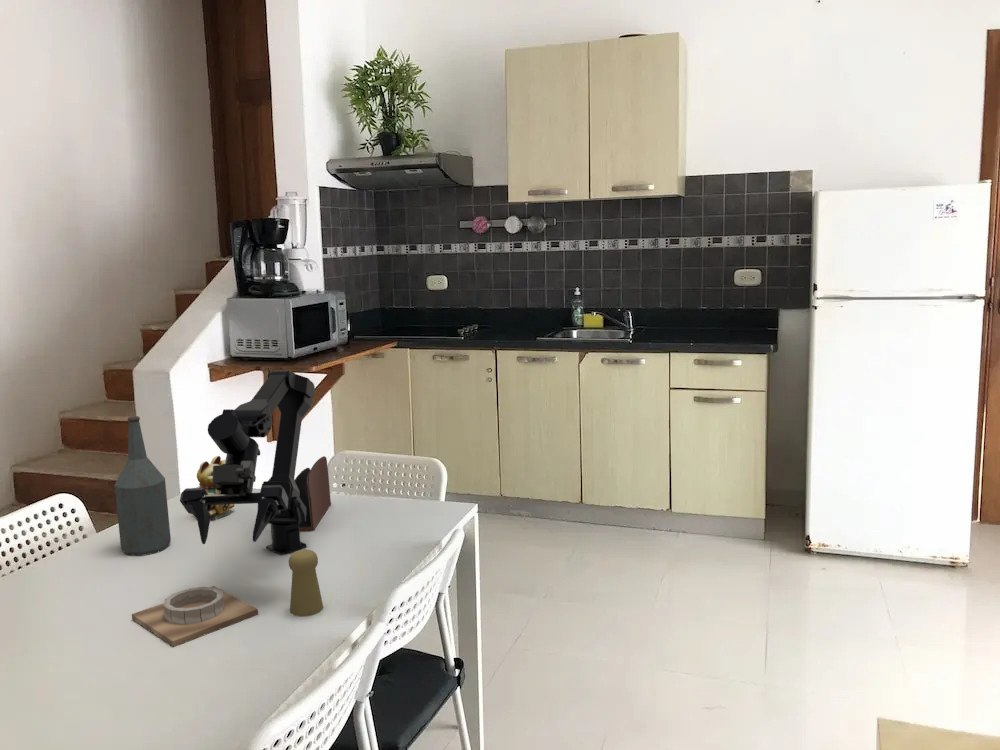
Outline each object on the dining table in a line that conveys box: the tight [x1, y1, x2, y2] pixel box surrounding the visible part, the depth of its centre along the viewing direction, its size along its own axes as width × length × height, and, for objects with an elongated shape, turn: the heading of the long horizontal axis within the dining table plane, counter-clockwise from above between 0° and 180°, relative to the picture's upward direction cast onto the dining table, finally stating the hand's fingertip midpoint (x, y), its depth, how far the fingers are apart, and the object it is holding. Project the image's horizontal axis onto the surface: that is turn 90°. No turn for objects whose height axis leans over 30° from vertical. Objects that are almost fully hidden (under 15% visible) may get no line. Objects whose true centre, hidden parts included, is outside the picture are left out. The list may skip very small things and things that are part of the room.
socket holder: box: [131, 585, 259, 647], centre depth 152 cm, size 16×16×4 cm
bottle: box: [114, 415, 172, 556], centre depth 185 cm, size 10×10×30 cm
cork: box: [288, 549, 324, 617], centre depth 153 cm, size 6×6×11 cm
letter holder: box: [294, 456, 332, 533], centre depth 204 cm, size 10×20×14 cm, turn 0°
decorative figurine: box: [196, 455, 236, 520], centre depth 208 cm, size 10×8×15 cm
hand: (228, 542), depth 152 cm, fingers open, 9 cm apart
